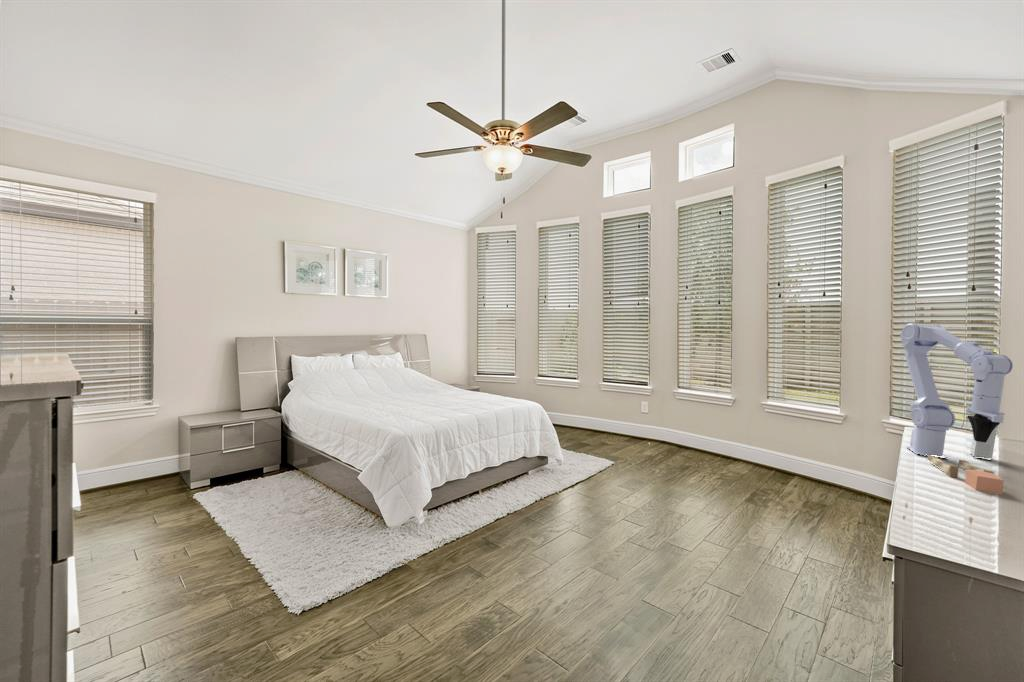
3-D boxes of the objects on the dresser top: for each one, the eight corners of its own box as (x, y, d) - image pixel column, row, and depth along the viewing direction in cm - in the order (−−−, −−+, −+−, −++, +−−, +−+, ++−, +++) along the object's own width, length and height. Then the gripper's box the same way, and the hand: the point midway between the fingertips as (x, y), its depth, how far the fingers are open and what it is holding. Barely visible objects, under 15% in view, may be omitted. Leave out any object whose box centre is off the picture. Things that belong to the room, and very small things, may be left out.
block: (965, 483, 122) (967, 468, 122) (990, 487, 120) (992, 473, 119) (975, 490, 117) (977, 475, 116) (1001, 495, 114) (1003, 480, 114)
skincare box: (992, 461, 143) (997, 425, 142) (973, 458, 146) (978, 422, 145) (987, 457, 148) (992, 421, 147) (969, 453, 151) (974, 419, 150)
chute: (927, 461, 139) (928, 451, 139) (964, 466, 136) (965, 456, 136) (950, 476, 126) (951, 465, 126) (992, 483, 122) (993, 472, 122)
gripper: (1021, 402, 121) (1013, 450, 122) (991, 393, 134) (984, 437, 135) (986, 398, 124) (979, 446, 125) (960, 390, 137) (954, 433, 138)
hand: (980, 441), depth 130 cm, fingers closed
